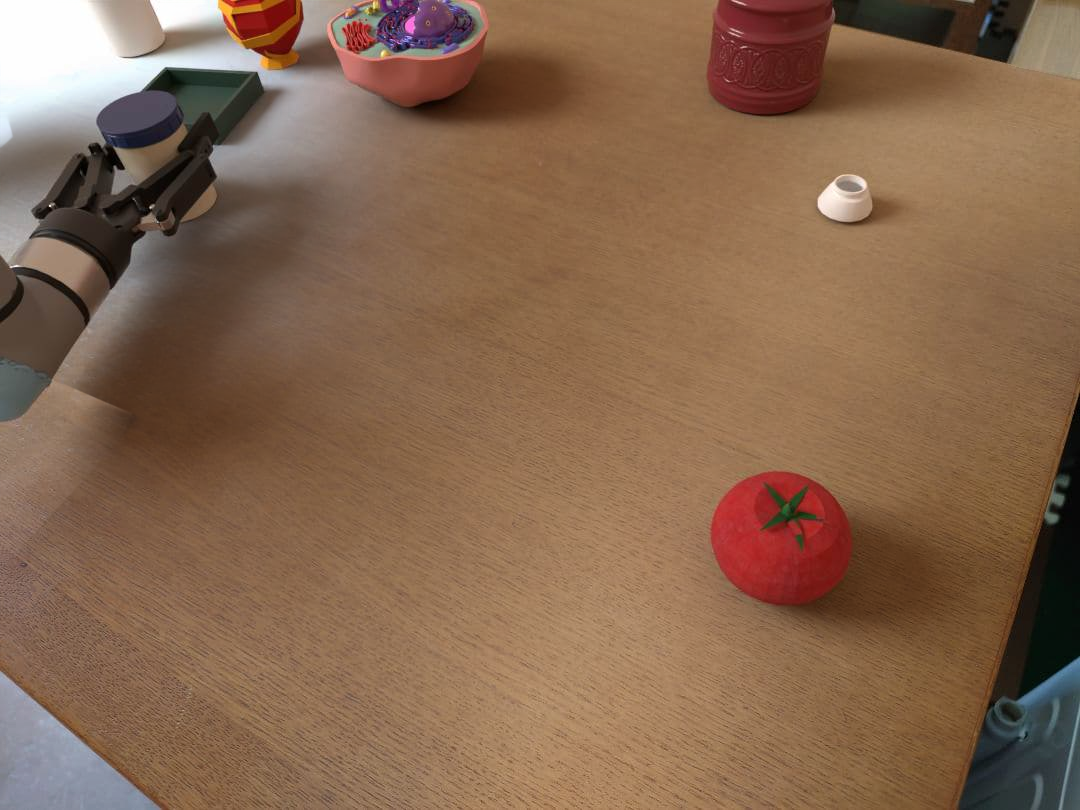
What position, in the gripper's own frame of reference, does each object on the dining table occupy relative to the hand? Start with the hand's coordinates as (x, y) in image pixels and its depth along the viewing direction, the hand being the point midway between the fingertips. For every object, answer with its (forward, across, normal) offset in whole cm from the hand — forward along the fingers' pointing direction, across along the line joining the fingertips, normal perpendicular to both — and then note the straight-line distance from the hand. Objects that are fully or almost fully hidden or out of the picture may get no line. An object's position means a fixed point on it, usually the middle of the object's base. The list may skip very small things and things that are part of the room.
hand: (176, 124), depth 83 cm
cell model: (+18, +21, -7) cm, 29 cm away
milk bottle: (+31, -22, -7) cm, 39 cm away
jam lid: (-5, 0, +4) cm, 6 cm away
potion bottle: (+26, 0, -7) cm, 27 cm away
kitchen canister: (+19, +63, -7) cm, 66 cm away
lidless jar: (-4, +69, -7) cm, 70 cm away
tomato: (-43, +60, -7) cm, 75 cm away
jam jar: (-5, 0, -6) cm, 8 cm away
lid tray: (+13, -6, -6) cm, 16 cm away
